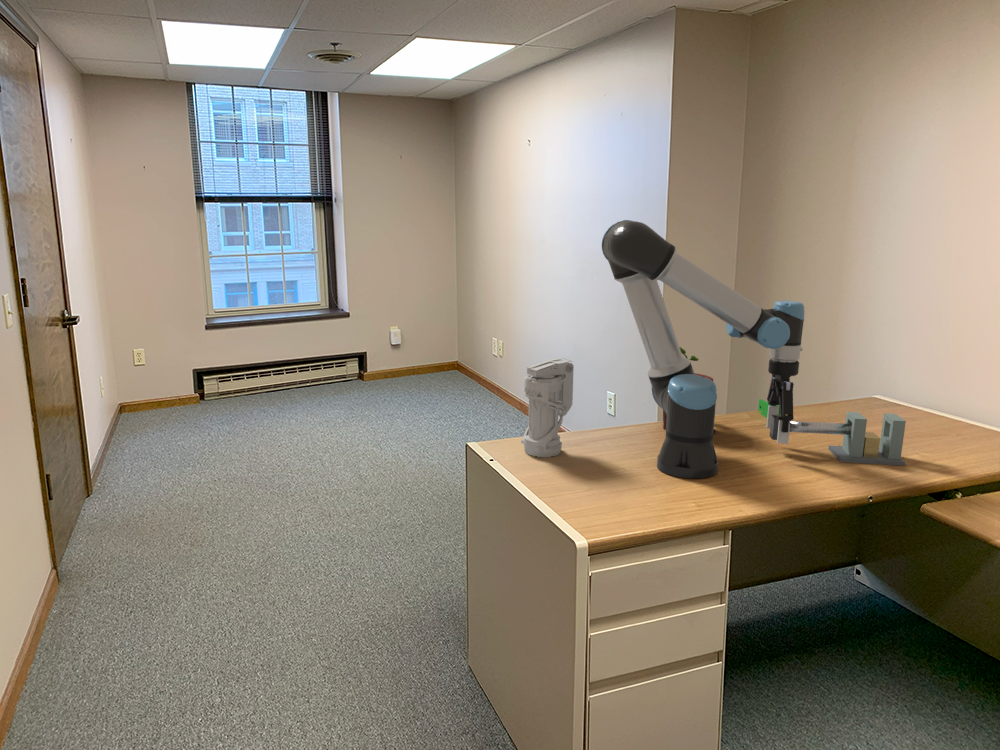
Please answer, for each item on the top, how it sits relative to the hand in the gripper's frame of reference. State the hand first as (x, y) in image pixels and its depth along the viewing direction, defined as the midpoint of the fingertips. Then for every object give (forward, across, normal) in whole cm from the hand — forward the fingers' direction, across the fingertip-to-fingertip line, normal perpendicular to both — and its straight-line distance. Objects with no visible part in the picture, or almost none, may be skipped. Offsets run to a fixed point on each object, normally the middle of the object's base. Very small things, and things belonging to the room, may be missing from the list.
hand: (776, 435), depth 198 cm
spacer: (+4, 0, -24) cm, 24 cm away
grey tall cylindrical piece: (+5, -10, +62) cm, 63 cm away
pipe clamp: (+5, +36, -6) cm, 37 cm away
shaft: (+1, 0, -9) cm, 9 cm away
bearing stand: (+5, 0, -23) cm, 24 cm away
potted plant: (+5, +20, +21) cm, 30 cm away
